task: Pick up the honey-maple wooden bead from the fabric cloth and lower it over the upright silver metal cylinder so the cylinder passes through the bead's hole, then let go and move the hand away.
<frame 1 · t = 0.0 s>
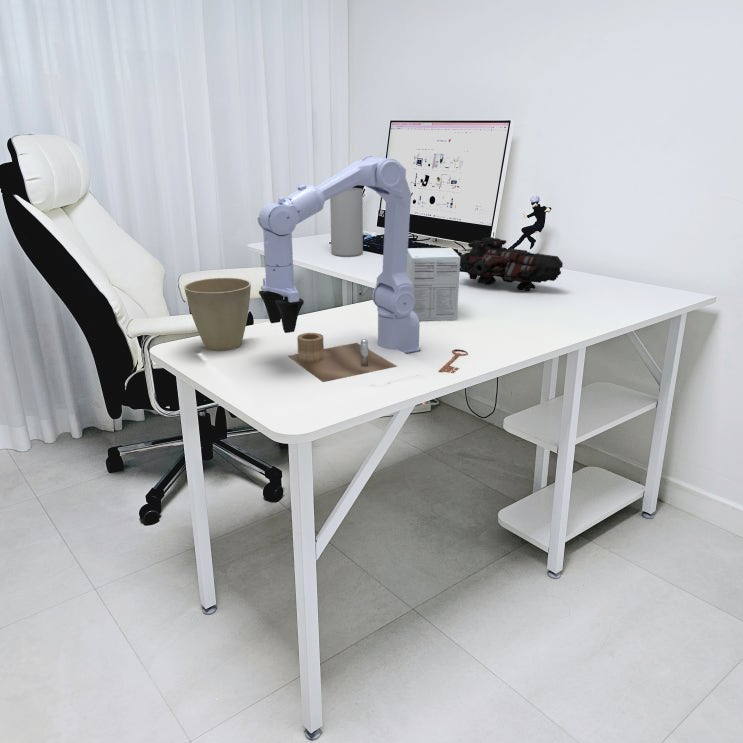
hand: (282, 327, 140), 10 cm above the table, fingers open, 7 cm apart
spaceship model: (510, 288, 213), on the table
key: (455, 364, 150), on the table
fabric cloth: (341, 367, 146), on the table
supplement box: (430, 315, 185), on the table
silver metal cylinder: (364, 365, 143), resting on fabric cloth
bead: (311, 358, 147), point 1 cm above the table, touching fabric cloth
plant pot: (223, 351, 156), on the table
cylinder vase: (347, 254, 263), on the table
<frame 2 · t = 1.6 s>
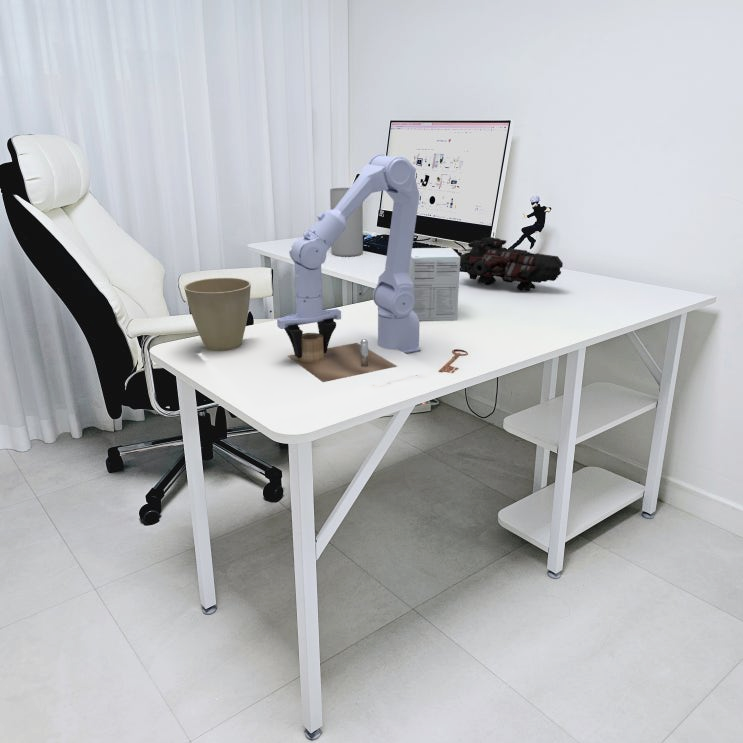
hand: (310, 354, 147), 2 cm above the table, fingers closed on bead, 6 cm apart
bead: (311, 358, 147), point 1 cm above the table, touching gripper, fabric cloth
everything else where it was.
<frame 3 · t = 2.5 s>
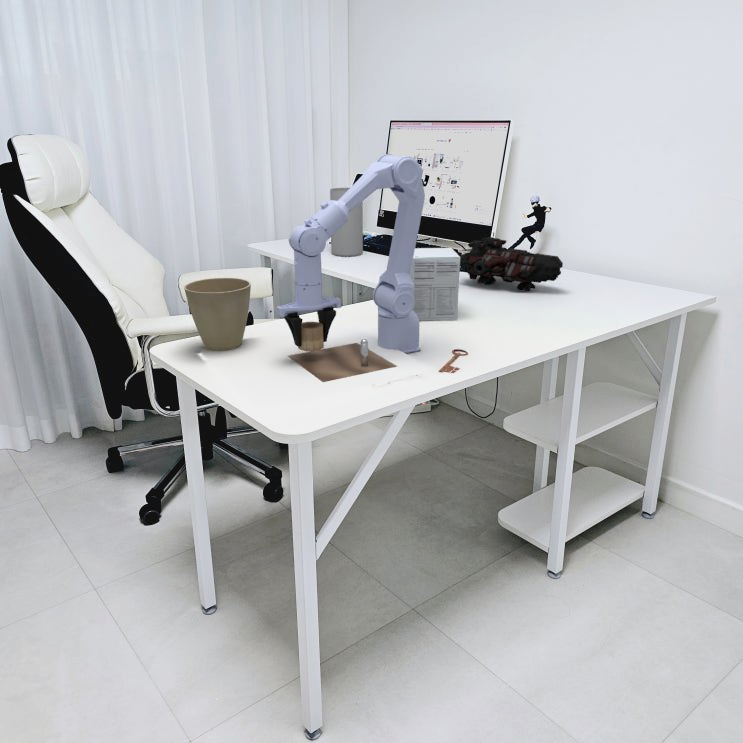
hand: (310, 343, 146), 5 cm above the table, fingers closed on bead, 6 cm apart
bead: (310, 346, 146), point 4 cm above the table, touching gripper
everything else where it was.
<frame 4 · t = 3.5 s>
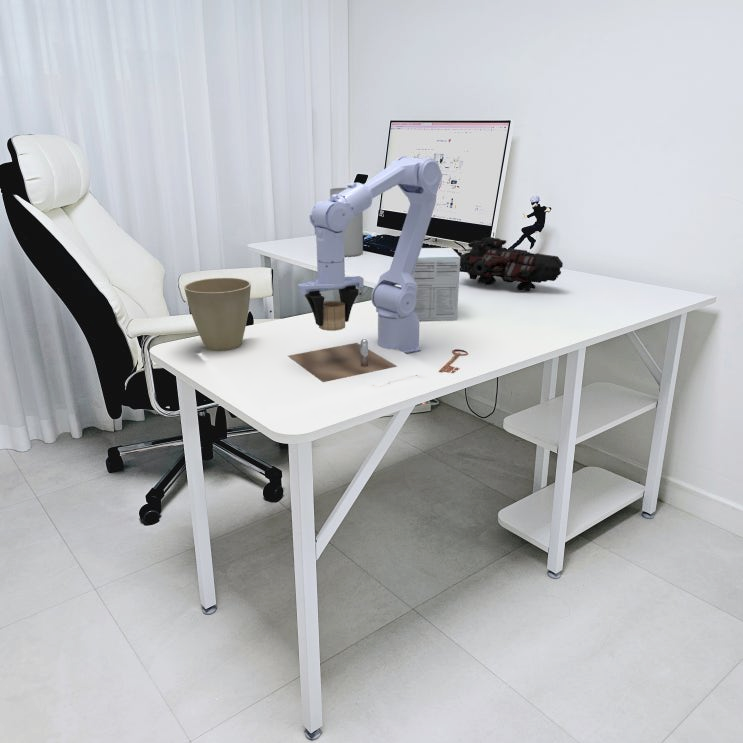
hand: (332, 322, 142), 10 cm above the table, fingers closed on bead, 6 cm apart
bead: (332, 326, 143), point 9 cm above the table, touching gripper
everything else where it was.
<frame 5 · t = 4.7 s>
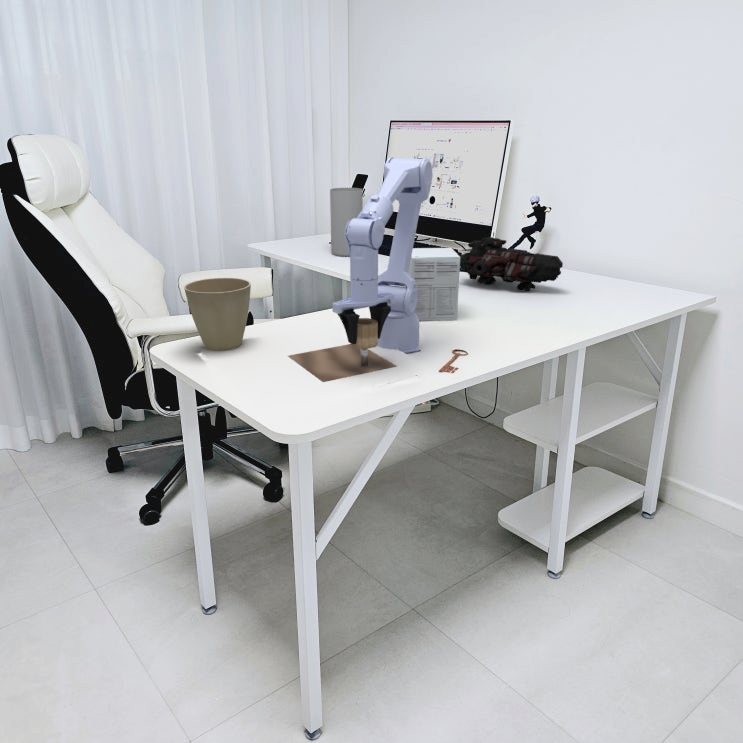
hand: (364, 340, 141), 7 cm above the table, fingers closed on bead, 6 cm apart
bead: (364, 344, 141), point 6 cm above the table, touching gripper
everything else where it was.
when the fingers open (5 cm above the table, at t = 5.7 s): bead drops 3 cm, resting on fabric cloth.
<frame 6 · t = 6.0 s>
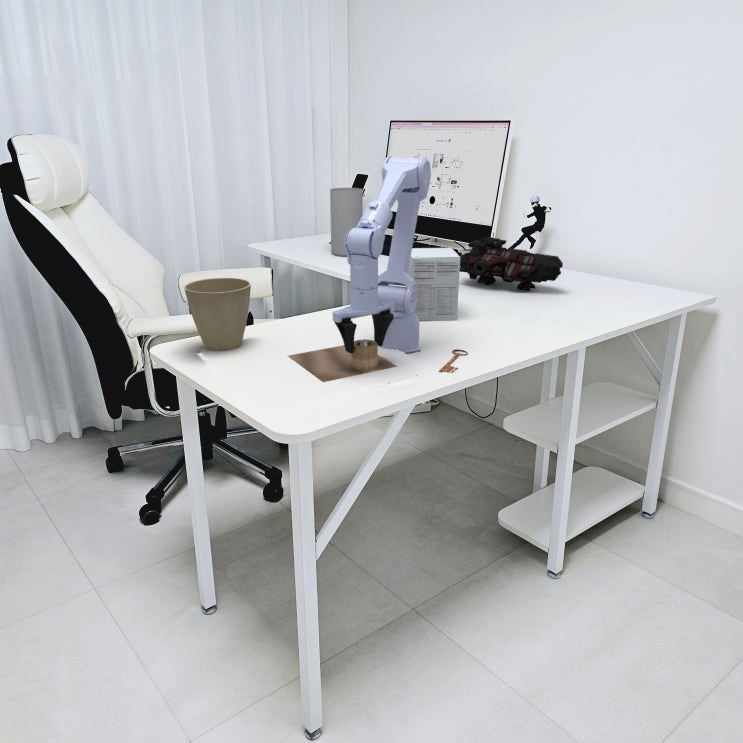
hand: (364, 348, 141), 5 cm above the table, fingers open, 7 cm apart
bead: (364, 365, 143), point 1 cm above the table, touching fabric cloth
everything else where it was.
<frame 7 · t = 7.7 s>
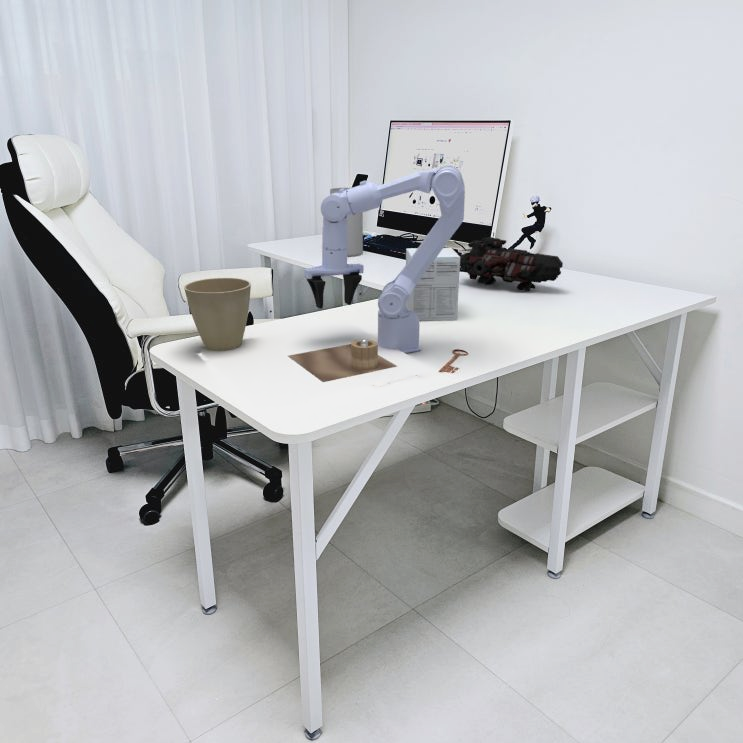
hand: (333, 305, 155), 10 cm above the table, fingers open, 7 cm apart
nothing on the table moved.
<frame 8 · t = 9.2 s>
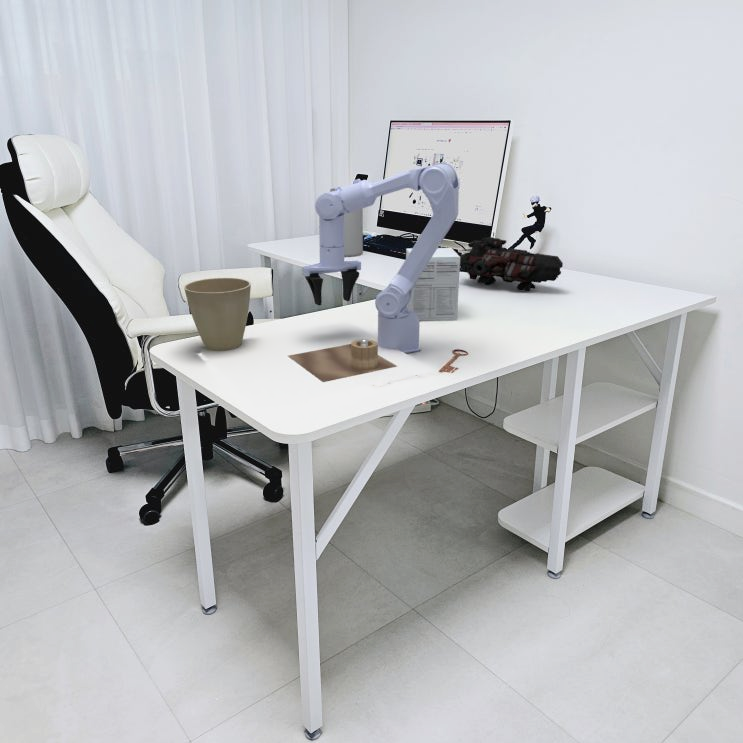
hand: (332, 302, 157), 10 cm above the table, fingers open, 7 cm apart
nothing on the table moved.
at the end: bead 0.0 cm from the silver metal cylinder (horizontally); bead point 1.5 cm above the table; the gripper is holding nothing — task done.
